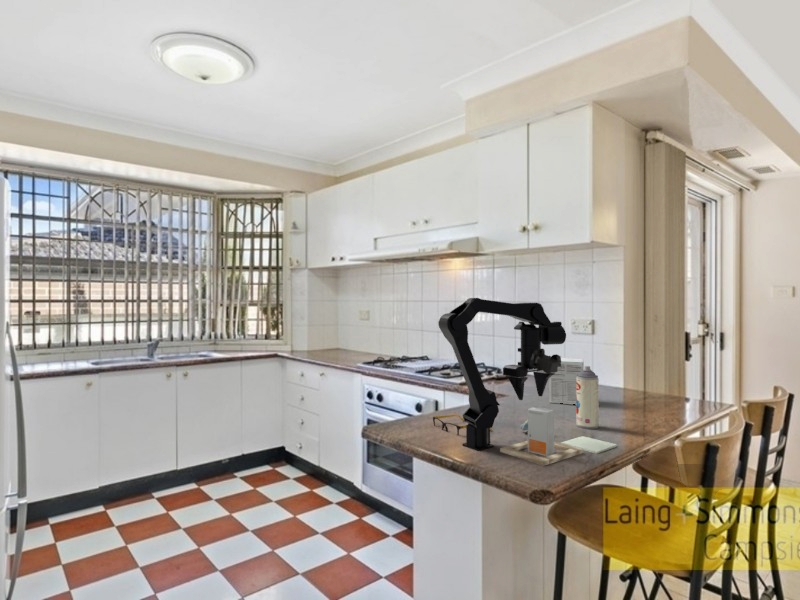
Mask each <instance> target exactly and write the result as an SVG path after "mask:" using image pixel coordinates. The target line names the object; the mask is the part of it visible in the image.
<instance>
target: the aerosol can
mask: <svg viewBox="0 0 800 600" xmlns="http://www.w3.org/2000/svg"><path fill="white" fill-rule="evenodd" d="M599 392H600V391H599V376H598V375H597V374H596V373H595V372H594V371H593V370H592V369H591V366H589V365H584V369H583V370H582V371H581V372H580V373H579V374H578V375H577V378H576V409H575V410H576V413H575V414H576V427H578V428H580V429H586V430H596V429H599V428H600V427H599V422H600V421H599V417H600V415H599V412H600V411H599V406H600V405H599V402H600V401H599V398H600V397H599V394H600V393H599Z"/></svg>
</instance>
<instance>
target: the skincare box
mask: <svg viewBox="0 0 800 600" xmlns="http://www.w3.org/2000/svg"><path fill="white" fill-rule="evenodd" d="M527 420H528V430H527V441H528V448H527V453H530V454H536V455H540V456H543V457H547V456H550V455H553V454H555V448H554V441H555V410H554V409H551V408H545V407H537V406H533V407H529V408H528V409H527Z"/></svg>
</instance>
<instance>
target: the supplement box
mask: <svg viewBox="0 0 800 600" xmlns="http://www.w3.org/2000/svg"><path fill="white" fill-rule="evenodd" d="M583 369H585V365H584V358H573V357H572V358H570V357H561V367H558V368H557V371H558V372H551V373H555V374H554V375H552V376H551V377H550V378H549V403H550V404H560V403H563V405H564V404H565V405H573V404H575V405H576V378H577V375H578V374H579V373H580V372H581V371H582V370H583ZM575 405H574V406H575Z"/></svg>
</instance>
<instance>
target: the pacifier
mask: <svg viewBox="0 0 800 600" xmlns="http://www.w3.org/2000/svg"><path fill="white" fill-rule="evenodd" d="M519 429H520V430H522V431H528V419H526V420H525V422H523V423H522V424H521V425H520V426H519Z"/></svg>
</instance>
